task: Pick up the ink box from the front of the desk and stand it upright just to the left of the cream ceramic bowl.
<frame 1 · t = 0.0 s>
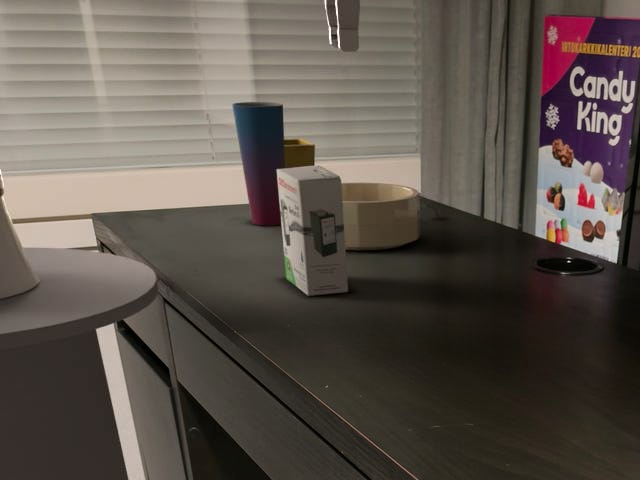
hand: (343, 49, 90), 23 cm above the table, tool pointing down, fingers open, 8 cm apart
bowl: (362, 240, 125), on the table
cup: (269, 223, 135), on the table
ink box: (316, 287, 105), on the table
eyeglasses: (394, 215, 141), on the table
flower pot: (286, 207, 146), on the table
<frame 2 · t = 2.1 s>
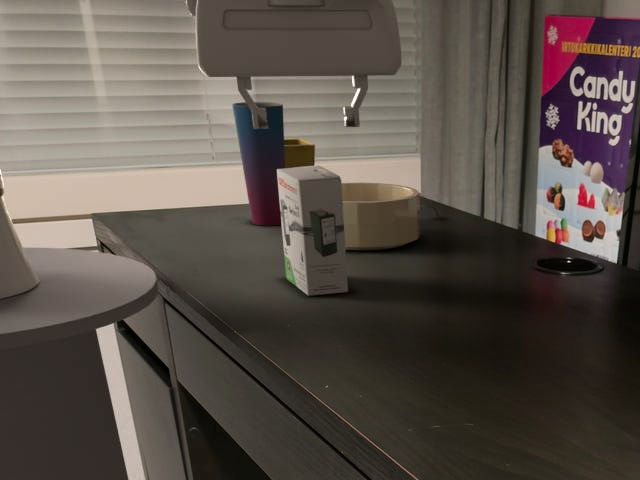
hand: (306, 127, 96), 16 cm above the table, tool pointing down, fingers open, 8 cm apart
nothing on the table moved.
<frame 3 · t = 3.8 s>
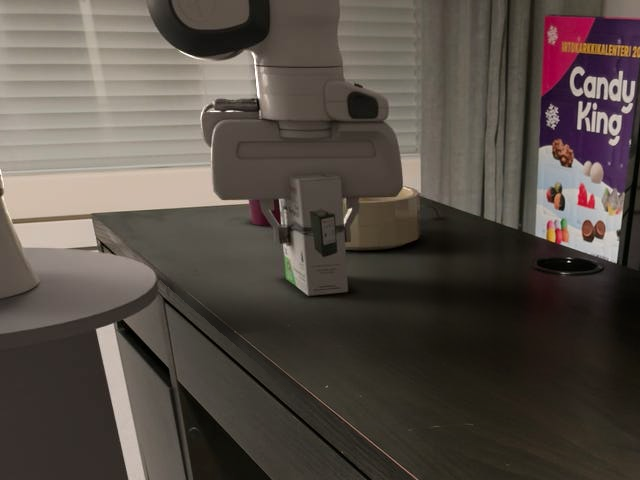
hand: (313, 242, 102), 5 cm above the table, tool pointing down, fingers closed on ink box, 5 cm apart
ink box: (316, 287, 105), on the table, touching gripper
everything else where it was.
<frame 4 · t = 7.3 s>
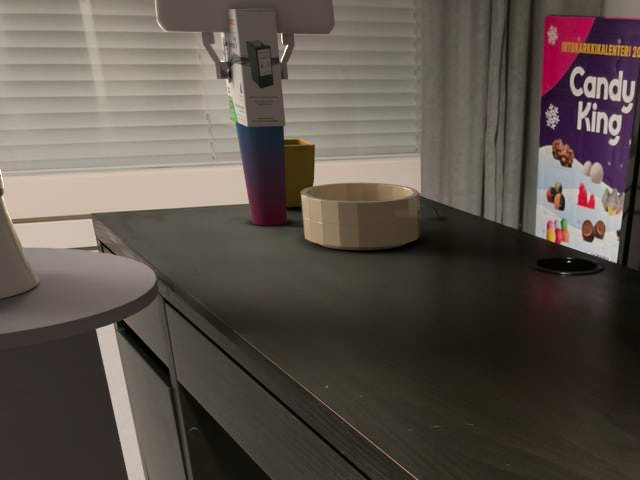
hand: (253, 79, 110), 19 cm above the table, tool pointing down, fingers closed on ink box, 5 cm apart
ink box: (257, 125, 113), point 14 cm above the table, touching gripper
everything else where it was.
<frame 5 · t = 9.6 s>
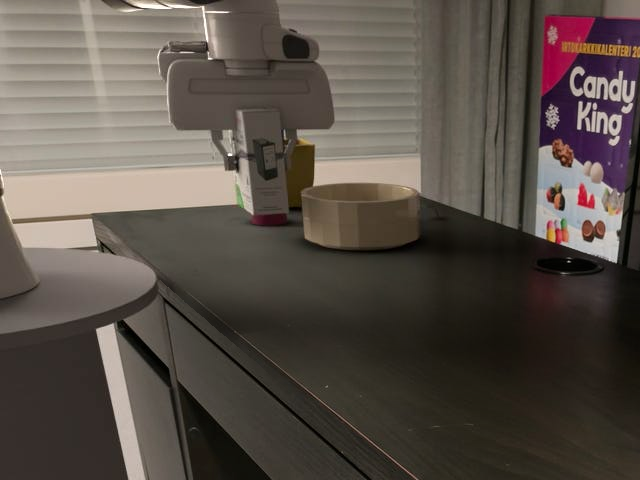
hand: (258, 169, 118), 9 cm above the table, tool pointing down, fingers closed on ink box, 5 cm apart
ink box: (262, 210, 121), point 4 cm above the table, touching gripper
everything else where it was.
when the fingers open (4 cm above the table, at t = 11.2 s): ink box stays where it is, on the table.
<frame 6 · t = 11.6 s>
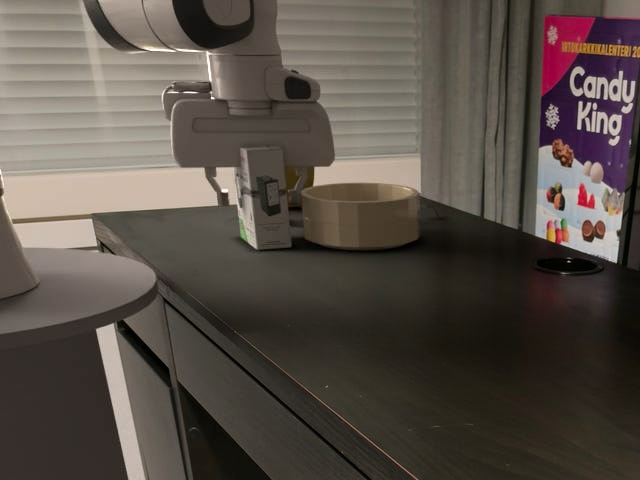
hand: (260, 205, 120), 5 cm above the table, tool pointing down, fingers open, 8 cm apart
ink box: (266, 244, 123), on the table
everything else where it was.
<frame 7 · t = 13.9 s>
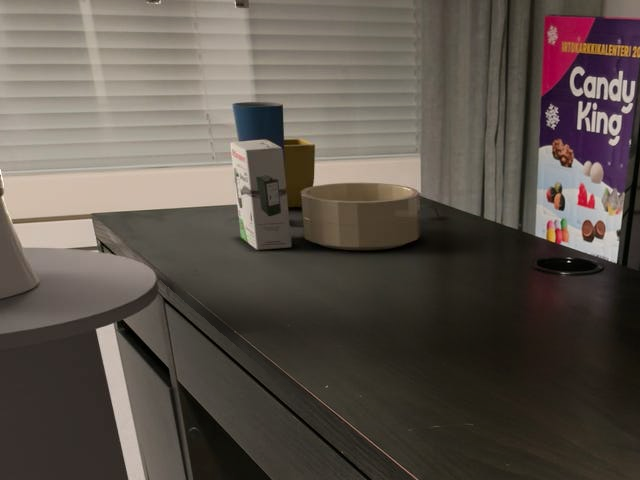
hand: (198, 5, 101), 26 cm above the table, tool pointing down, fingers open, 8 cm apart
nothing on the table moved.
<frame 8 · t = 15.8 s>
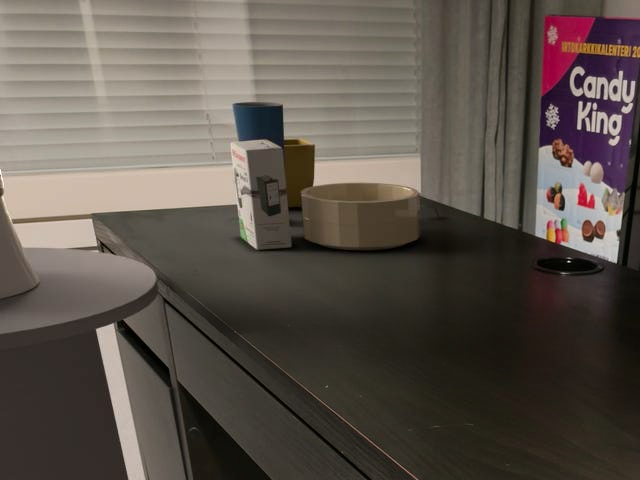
nothing on the table moved.
at the end: ink box inside the target area on the table beside the bowl (0.3 cm from its centre), on the table; ink box tilted 0°; the gripper is holding nothing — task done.
